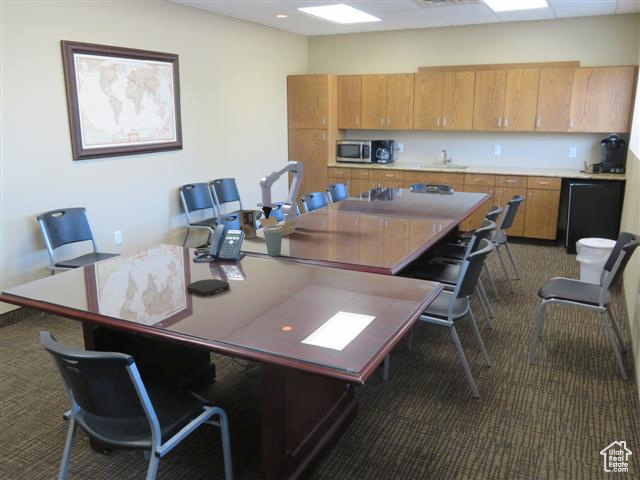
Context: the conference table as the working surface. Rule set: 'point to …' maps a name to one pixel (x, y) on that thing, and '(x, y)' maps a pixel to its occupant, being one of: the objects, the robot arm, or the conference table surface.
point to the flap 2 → (290, 224)
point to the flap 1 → (269, 221)
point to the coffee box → (248, 223)
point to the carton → (288, 231)
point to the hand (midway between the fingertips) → (267, 218)
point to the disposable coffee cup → (273, 239)
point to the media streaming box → (208, 287)
